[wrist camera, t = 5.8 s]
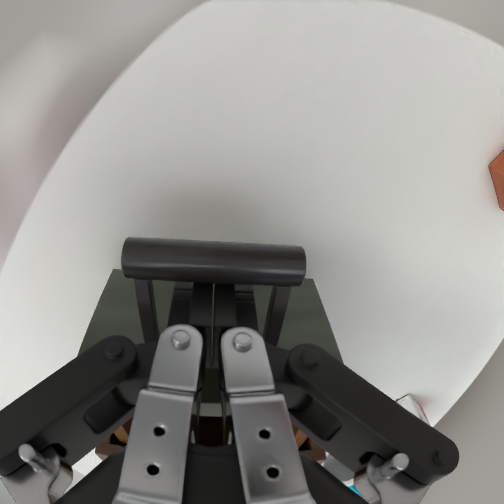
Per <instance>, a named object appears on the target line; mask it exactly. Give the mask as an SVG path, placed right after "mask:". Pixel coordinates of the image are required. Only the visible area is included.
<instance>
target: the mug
mask: <svg viewBox="0 0 504 504" xmlns="http://www.w3.org/2000/svg"><path fill="white" fill-rule="evenodd" d="M326 458H327V460H326V461H325V462H323V463H322V464H321V465H322V466H323V467H324V468H325V469H327V470H328V471H329V472H330V473H331V474H333V475H334V476H335V477H336V478H338V479H339V480H340V481H341V482H342V483H344V484H345V485H346V486H347V487H349V488H350V489H351V490H353V491H354V492H355V493H356V494H358V495H359V494H360V493H359V492H358V491H357V490H356V488H355V486H354V482H353V478H354V474H355V473H354V472H353V471H351V470H350V469H348V468H347V467H346V466H344V465H343V464H342V463H340V462H339V461H338V460H337V459H335V458H334V457H333V456H331V455H330V454H329V453H328V452H326Z"/></svg>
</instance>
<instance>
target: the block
mask: <svg viewBox="0 0 504 504" xmlns="http://www.w3.org/2000/svg"><path fill="white" fill-rule="evenodd" d="M488 167H489V170H490V173H491V176H492V180H493V183H494V187H495V190H496V194H497V198H498V202H499V206H500V208H501V209H502V210H503V211H504V150H503V151H502V152H501V154H500V155H499V156H498V157H497V158H496V159H495V160H494V161H493V162H492V163H491V164H490V165H489V166H488Z"/></svg>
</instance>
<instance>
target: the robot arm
mask: <svg viewBox="0 0 504 504" xmlns="http://www.w3.org/2000/svg"><path fill="white" fill-rule="evenodd" d="M212 303H213V283H195V282H177V281H175V285H174V290H173V295H172V301H171V306H170V312H169V318H168V324H167V328H166V329H165V330H164V331H163V332H162V333H161V335H160V337H159V338H157V339H155V340H153V341H150V342H146V343H141V344H135V345H134V343H133V342H132V341H131V340H130V339H129V338H127V337H125V336H121V335H112V336H108V337H106V338H104V339H102V340H101V341H99V342H98V343H96V344H95V345H93V346H92V347H90V348H89V349H88V350H86V351H85V352H83V353H82V354H80V355H79V356H78V357H76V358H75V359H73V360H72V361H70V362H69V363H67V364H66V365H65V366H63V367H62V368H60V369H59V370H57V371H56V372H55V373H53V374H52V375H50V376H49V377H47V378H46V379H45V380H43V381H42V382H40V383H39V384H37V385H36V386H35V387H33V388H32V389H30V390H29V391H28V392H26V393H25V394H23V395H22V396H20V397H19V398H18V399H16V400H15V401H13V402H12V403H11V404H9V405H8V406H6V407H5V408H4V409H2V410H1V411H0V479H1V480H2V482H3V483H4V485H5V487H6V488H7V490H8V492H9V493H10V495H11V496H12V498H13V499H14V501H15V502H16V504H419V503H420V502H421V500H422V499H423V497H424V495H425V494H426V492H427V490H428V489H429V487H430V485H431V484H432V483H434V482H435V481H437V480H439V479H441V478H442V477H444V476H446V475H448V474H449V473H451V472H452V471H453V470H454V469H455V468H456V467H457V464H458V461H459V452H458V448H457V446H456V445H455V443H454V442H453V441H452V440H450V439H449V438H447V437H446V436H444V435H443V434H442V433H440V432H439V431H437V430H436V429H434V428H433V427H431V426H430V425H428V424H427V423H425V422H424V421H422V420H421V419H420V418H418V417H417V416H415V415H414V414H412V413H411V412H409V411H408V410H407V409H405V408H404V407H402V406H401V405H399V404H398V403H397V402H395V401H394V400H392V399H391V398H390V397H388V396H387V395H385V394H384V393H383V392H381V391H380V390H378V389H377V388H376V387H374V386H373V385H371V384H370V383H369V382H367V381H366V380H365V379H363V378H362V377H360V376H359V375H358V374H356V373H355V372H354V371H352V370H351V369H349V368H348V367H347V366H345V365H344V364H343V363H341V362H340V361H339V360H337V359H336V358H335V357H333V356H332V355H331V354H329V353H328V352H327V351H325V350H324V349H322V348H321V347H319V346H317V345H314V344H309V343H304V344H299V345H297V346H295V347H293V348H292V349H291V350H287V349H283V348H279V347H276V346H273V345H271V344H269V343H268V342H267V341H265V340H264V339H263V338H262V336H261V335H260V332H259V329H258V321H257V313H256V306H255V298H254V291H253V285H238V284H215V283H214V309H213V368H218V391H219V400H220V409H221V417H222V425H223V438H224V445H223V446H219V447H206V446H203V445H199V444H198V442H199V424H200V414H201V404H202V395H203V384H204V382H205V368H211V339H212ZM131 417H133V420H132V424H131V428H130V433H129V437H128V442H127V446H124V447H122V448H120V449H118V450H116V451H115V452H113V453H112V454H110V455H109V456H108V457H107V458H106V459H104V460H103V461H102V462H101V463H100V464H99V465H98V466H97V467H95V468H94V469H93V470H92V471H91V472H90V473H89V474H87V475H86V476H85V477H84V478H83V479H82V480H81V481H79V482H78V483H77V484H76V485H75V486H74V487H72V488H71V489H70V490H69V491H68V492H66V493H65V494H64V492H65V491H66V489H67V488H68V487H69V486H70V485H71V483H72V480H73V471H72V467H71V466H72V465H74V464H75V463H76V462H78V461H79V460H80V459H81V458H83V457H84V456H85V455H86V454H88V453H89V452H90V451H91V450H93V449H94V448H95V447H96V446H98V445H99V444H100V443H101V442H103V441H104V440H105V439H106V438H107V437H109V436H110V435H111V434H112V433H114V432H115V431H116V430H117V429H118V428H120V427H121V426H122V425H123V424H124V423H126V422H127V421H128V420H129V419H130V418H131ZM291 423H292V424H293V425H295V426H296V427H297V428H298V429H299V430H300V431H302V432H303V433H304V434H305V435H306V436H308V437H309V438H310V439H311V440H313V441H314V442H315V443H316V444H317V445H319V446H320V447H321V448H322V449H324V450H325V451H326V452H328V453H329V454H330V455H331V456H333V457H334V458H335V459H337V460H338V461H339V462H340V463H342V464H343V465H344V466H346V467H347V468H348V469H350V470H351V471H353V472H354V473H355V474H354V478H353V482H354V486H355V488H356V490H357V491H358V492H359V493H360V494H361V495H362V496H363V497H364V499H363V498H362V497H360V496H359V495H358V494H356V493H355V492H354V491H353V490H351V489H350V488H349V487H347V486H346V485H345V484H344V483H342V482H341V481H340V480H339V479H338V478H336V477H335V476H334V475H333V474H331V473H330V472H329V471H328V470H327V469H325V468H324V467H323V466H322V465H321V464H320V463H318V462H317V461H316V460H315V459H313V458H312V457H310V456H309V455H307V454H305V453H303V452H301V451H299V450H298V447H297V444H296V440H295V436H294V432H293V429H292V425H291Z"/></svg>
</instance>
